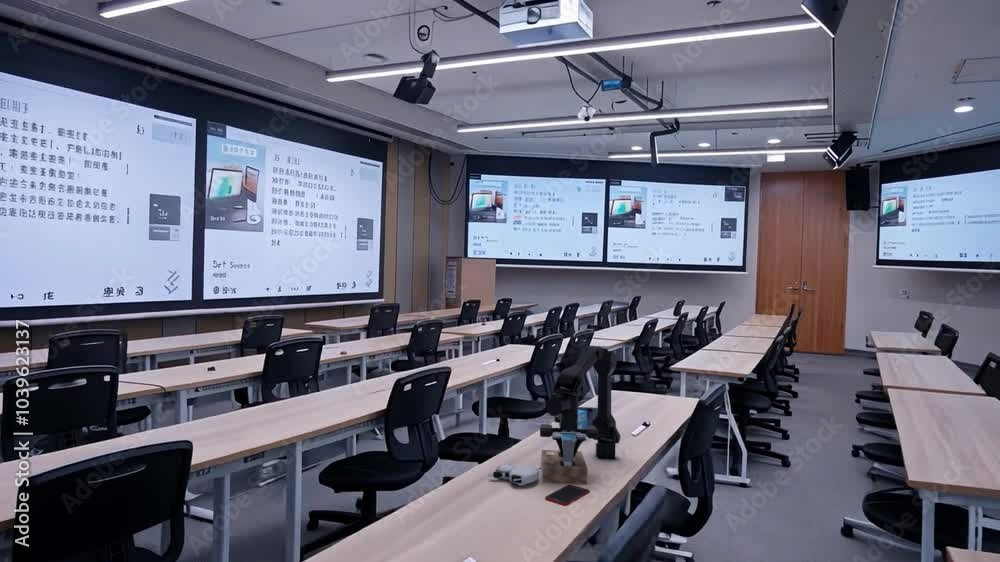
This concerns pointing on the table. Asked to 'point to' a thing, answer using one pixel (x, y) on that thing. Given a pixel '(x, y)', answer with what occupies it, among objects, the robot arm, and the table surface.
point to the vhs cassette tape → (589, 414)
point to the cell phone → (567, 495)
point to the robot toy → (517, 474)
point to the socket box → (563, 468)
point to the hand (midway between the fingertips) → (567, 457)
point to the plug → (568, 452)
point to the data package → (581, 424)
